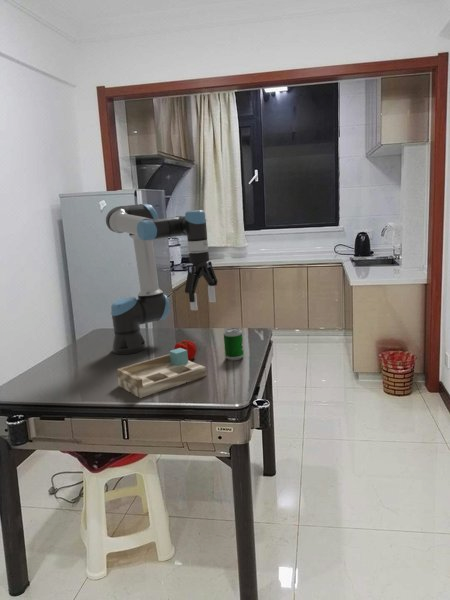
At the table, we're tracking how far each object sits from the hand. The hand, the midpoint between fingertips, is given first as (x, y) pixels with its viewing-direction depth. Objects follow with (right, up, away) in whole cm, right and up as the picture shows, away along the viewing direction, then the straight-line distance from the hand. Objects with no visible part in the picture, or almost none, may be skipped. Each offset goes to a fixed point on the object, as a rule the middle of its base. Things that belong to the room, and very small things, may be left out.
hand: (203, 306), depth 197 cm
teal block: (-9, -22, 0) cm, 24 cm away
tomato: (-8, -23, +16) cm, 29 cm away
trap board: (-15, -28, -7) cm, 33 cm away
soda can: (+12, -22, +12) cm, 28 cm away
